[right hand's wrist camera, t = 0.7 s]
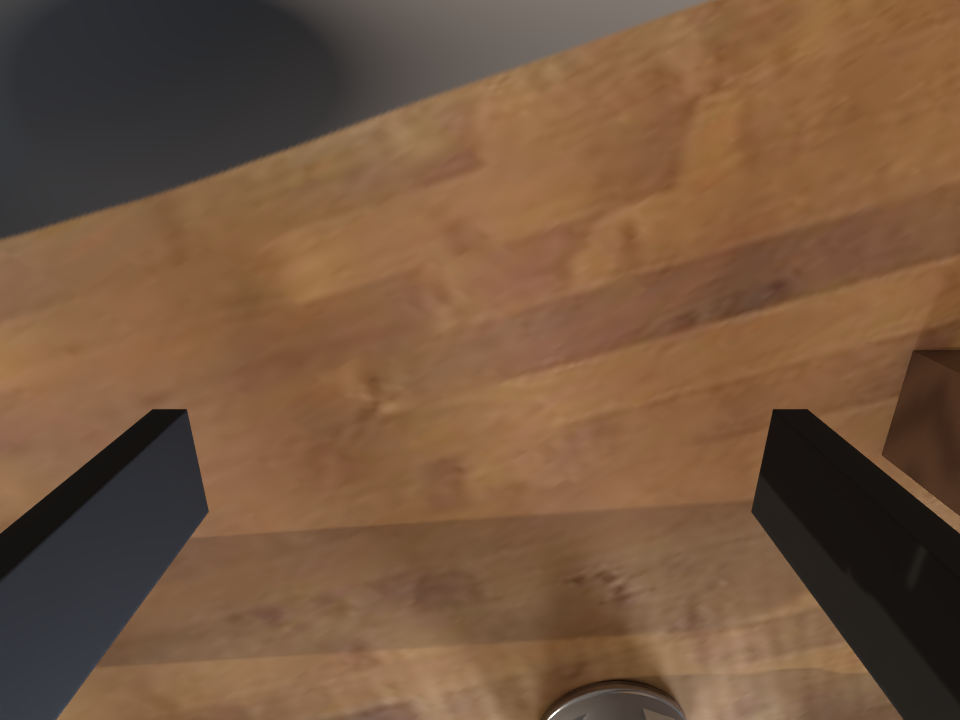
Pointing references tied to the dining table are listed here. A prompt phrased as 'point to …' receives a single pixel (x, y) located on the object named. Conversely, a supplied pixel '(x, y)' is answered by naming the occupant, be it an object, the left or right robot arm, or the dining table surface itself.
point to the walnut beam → (929, 425)
